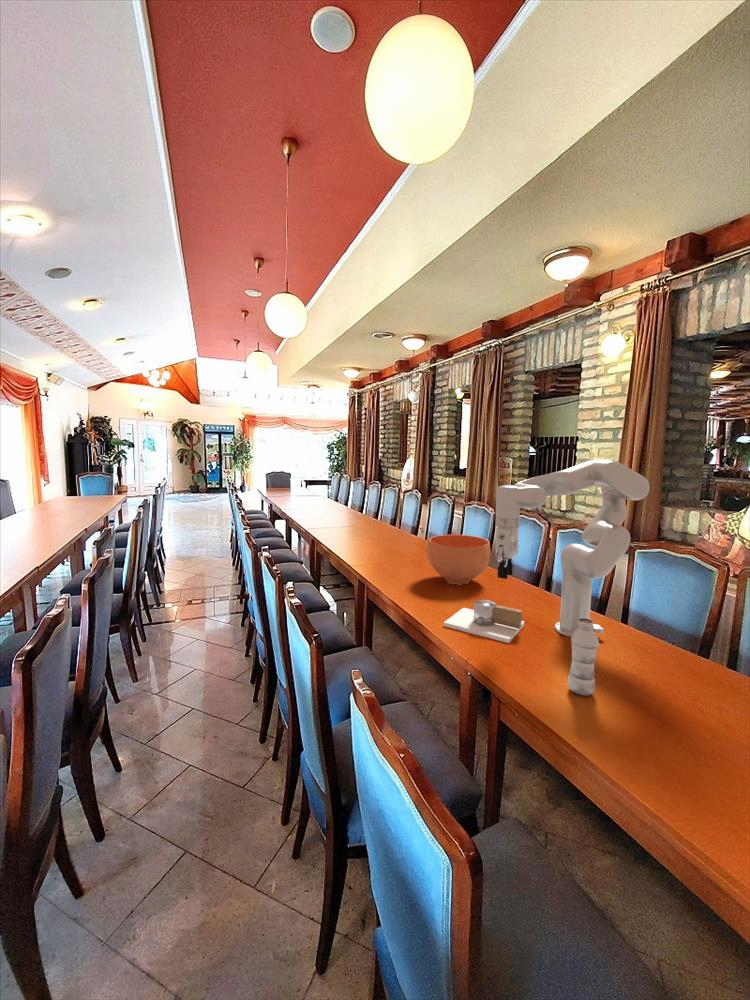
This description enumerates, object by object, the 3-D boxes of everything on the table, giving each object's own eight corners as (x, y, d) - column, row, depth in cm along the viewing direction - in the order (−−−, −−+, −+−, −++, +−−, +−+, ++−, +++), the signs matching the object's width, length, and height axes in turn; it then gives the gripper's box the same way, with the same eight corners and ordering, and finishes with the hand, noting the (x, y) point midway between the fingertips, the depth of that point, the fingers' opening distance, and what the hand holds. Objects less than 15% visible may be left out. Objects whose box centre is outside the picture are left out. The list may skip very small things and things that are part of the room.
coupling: (468, 623, 156) (469, 605, 156) (479, 614, 165) (479, 597, 164) (515, 634, 147) (516, 615, 146) (524, 624, 155) (525, 606, 154)
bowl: (423, 588, 200) (424, 545, 198) (430, 570, 229) (431, 533, 227) (489, 594, 193) (491, 549, 191) (488, 575, 222) (490, 536, 220)
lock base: (524, 625, 159) (524, 621, 159) (509, 643, 144) (509, 638, 144) (463, 611, 173) (463, 607, 172) (443, 626, 158) (443, 621, 158)
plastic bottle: (570, 682, 120) (575, 613, 118) (597, 691, 116) (602, 620, 114) (564, 692, 115) (568, 621, 113) (591, 702, 111) (596, 628, 109)
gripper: (510, 527, 134) (508, 584, 136) (525, 520, 148) (523, 572, 150) (487, 525, 138) (485, 580, 140) (504, 518, 152) (502, 568, 154)
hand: (504, 575), depth 145 cm, fingers open, 4 cm apart
